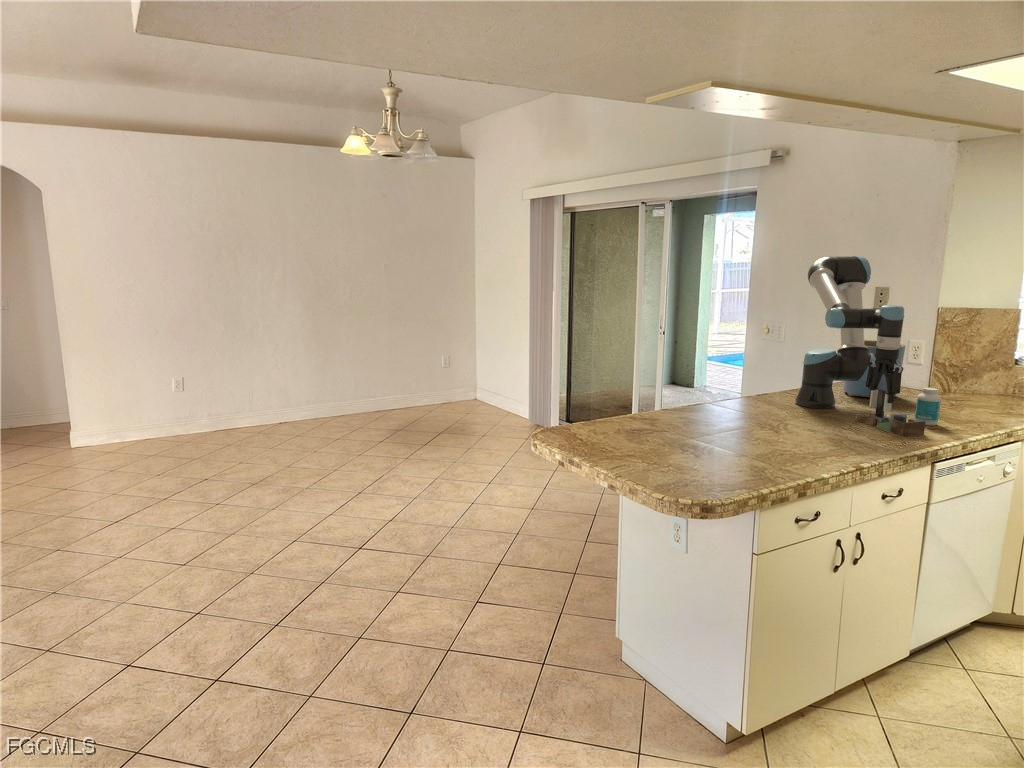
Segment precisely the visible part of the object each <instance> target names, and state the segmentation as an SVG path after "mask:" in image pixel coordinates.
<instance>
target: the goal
mask: <svg viewBox="0 0 1024 768" xmlns="http://www.w3.org/2000/svg"><path fill="white" fill-rule="evenodd" d="M907 419H908V420H907V421H906V422H904V423H903V422H900V421H897V420H893V423H892V430H891V432H890V433H893V434H895V435H898V436H902V437H914V436H917V437H918V436H924V435H925V427H926V425H925V422H926V421H917V420H914V419H913V418H907Z"/></svg>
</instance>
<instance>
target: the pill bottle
mask: <svg viewBox="0 0 1024 768" xmlns="http://www.w3.org/2000/svg"><path fill="white" fill-rule="evenodd" d="M938 392H939V389H938V388H935V387H923V388H922V393H919V394H918V395H917V396H916V397H917V398H916V405H915V413H914V420H917V421H926V422H925V426H936V425H938V421H939V417H940V416H939V415H940V409H941V402H942V398H941V396H940V395H938Z"/></svg>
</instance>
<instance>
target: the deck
mask: <svg viewBox="0 0 1024 768" xmlns="http://www.w3.org/2000/svg"><path fill="white" fill-rule="evenodd" d="M876 429H877V430H881V431H884V432H887V433H892V432H891V430H892V425H891V424H890V422H883V423H877V425H876Z"/></svg>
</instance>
